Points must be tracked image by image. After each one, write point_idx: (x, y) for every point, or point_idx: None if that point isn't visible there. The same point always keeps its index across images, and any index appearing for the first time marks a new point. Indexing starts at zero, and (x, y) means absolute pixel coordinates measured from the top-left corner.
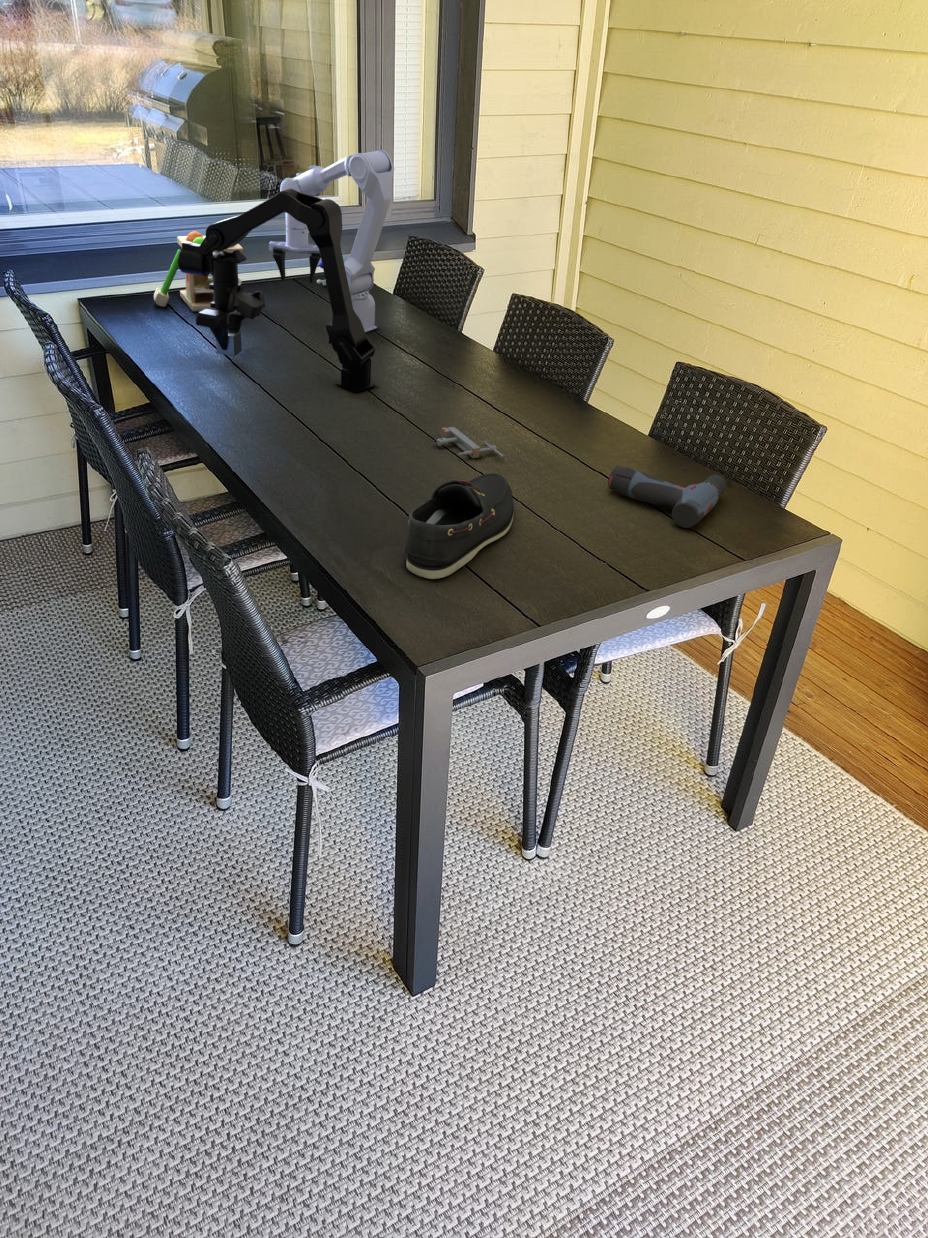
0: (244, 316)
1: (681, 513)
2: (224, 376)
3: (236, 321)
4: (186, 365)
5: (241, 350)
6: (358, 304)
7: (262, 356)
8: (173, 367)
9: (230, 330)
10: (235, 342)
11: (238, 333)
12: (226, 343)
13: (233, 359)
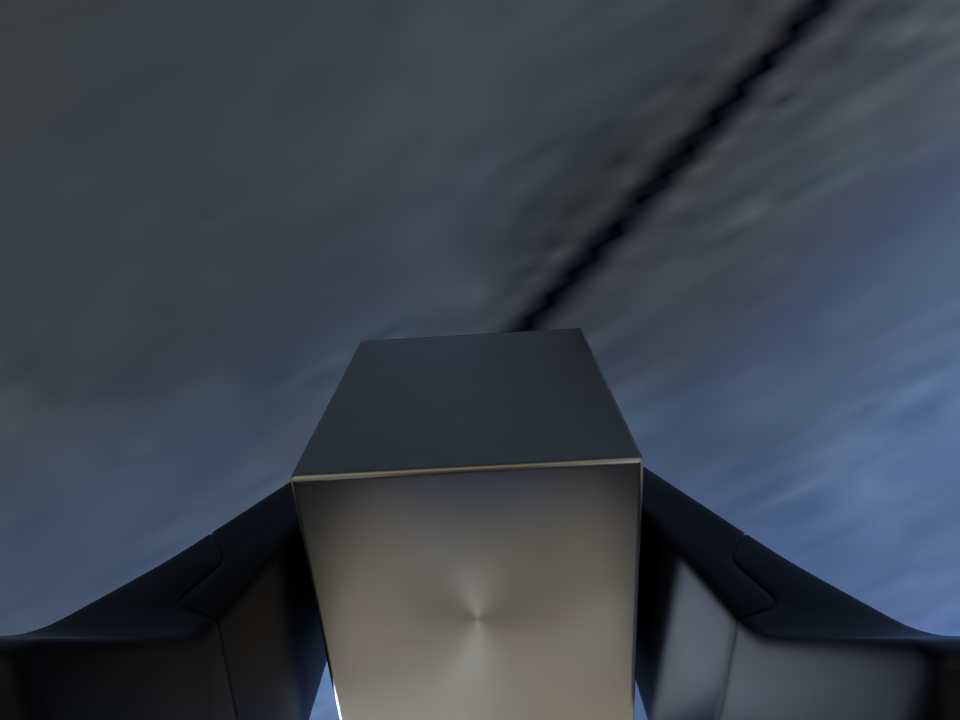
0: (21, 672)
1: None
2: (927, 229)
3: (204, 703)
4: None
5: (371, 342)
6: None
7: (151, 161)
8: None
9: (373, 627)
10: (552, 397)
11: (412, 463)
12: (656, 483)
13: None
